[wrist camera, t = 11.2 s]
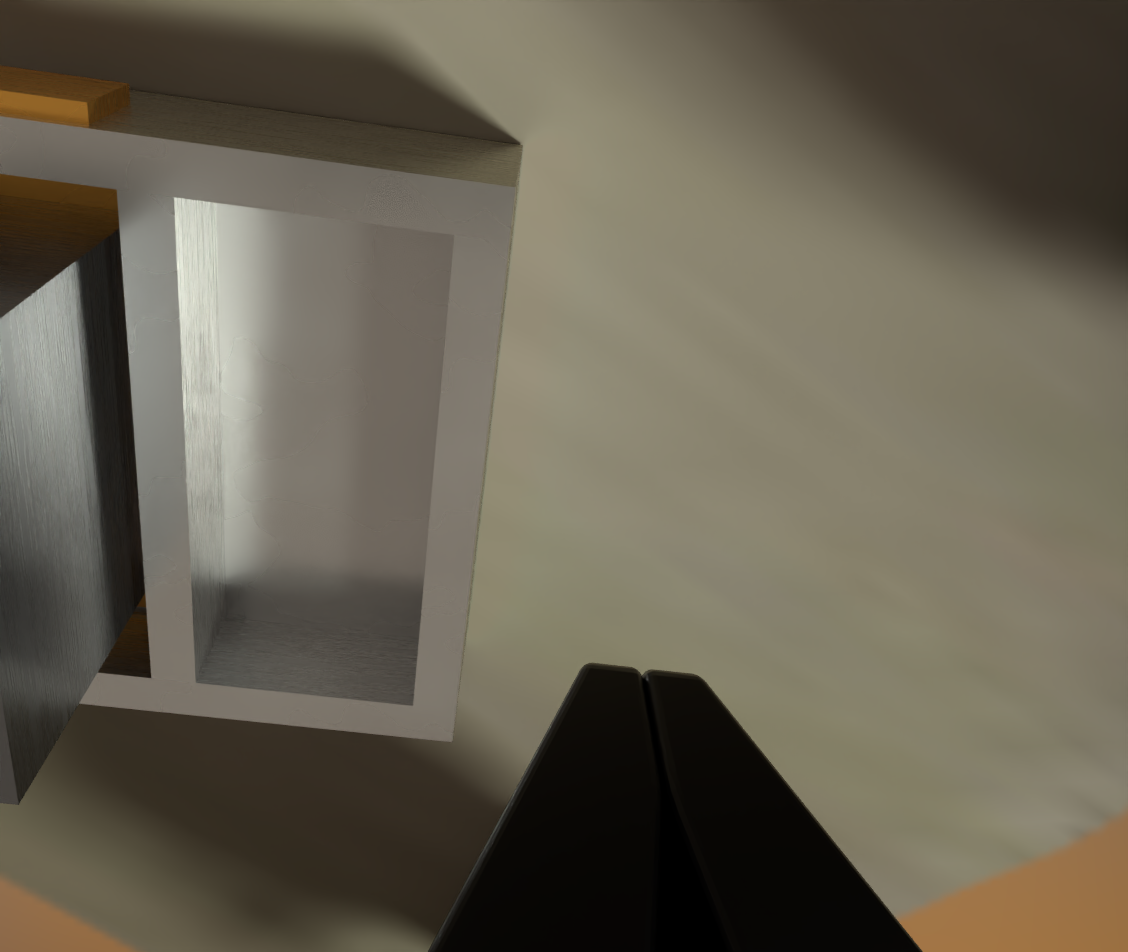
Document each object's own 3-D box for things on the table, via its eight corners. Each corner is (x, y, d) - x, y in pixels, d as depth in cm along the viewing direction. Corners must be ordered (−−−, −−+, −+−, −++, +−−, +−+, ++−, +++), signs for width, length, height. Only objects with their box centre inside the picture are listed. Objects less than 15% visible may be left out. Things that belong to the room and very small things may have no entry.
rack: (524, 126, 17) (517, 166, 15) (464, 649, 22) (452, 741, 20) (-455, -13, 16) (-638, 4, 14) (-277, 568, 21) (-385, 655, 19)
